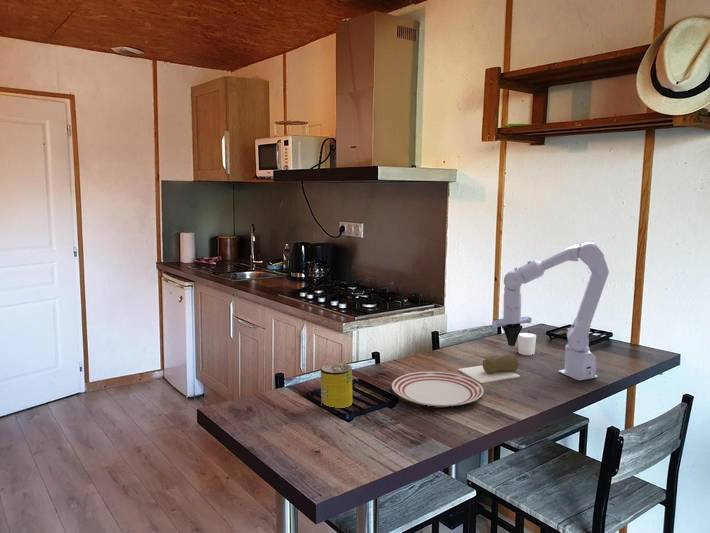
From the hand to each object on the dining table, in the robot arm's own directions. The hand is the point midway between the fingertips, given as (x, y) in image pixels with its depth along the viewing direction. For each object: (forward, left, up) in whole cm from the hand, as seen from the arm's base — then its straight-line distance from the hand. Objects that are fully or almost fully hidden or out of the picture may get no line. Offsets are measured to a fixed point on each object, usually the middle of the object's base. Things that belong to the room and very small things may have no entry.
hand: (511, 345), depth 187 cm
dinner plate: (-11, +35, -9) cm, 37 cm away
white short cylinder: (+13, -16, -9) cm, 23 cm away
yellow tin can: (-8, +66, -9) cm, 67 cm away
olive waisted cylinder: (-2, +1, -5) cm, 6 cm away
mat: (-1, +10, -8) cm, 13 cm away
